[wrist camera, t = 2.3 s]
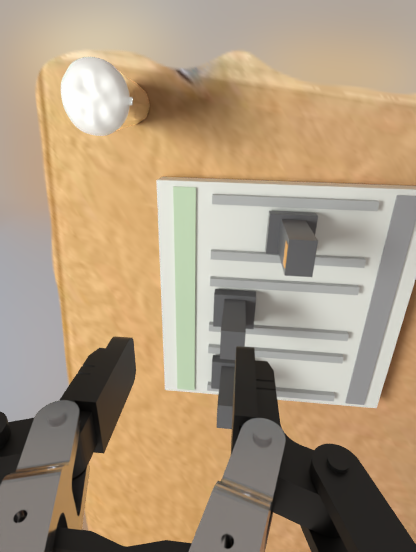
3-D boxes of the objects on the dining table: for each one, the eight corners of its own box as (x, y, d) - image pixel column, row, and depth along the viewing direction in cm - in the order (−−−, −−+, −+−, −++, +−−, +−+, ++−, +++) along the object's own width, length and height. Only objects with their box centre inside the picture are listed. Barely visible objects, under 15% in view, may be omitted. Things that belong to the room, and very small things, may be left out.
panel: (430, 186, 30) (500, 210, 22) (370, 395, 40) (402, 465, 32) (161, 176, 32) (133, 195, 24) (168, 378, 42) (150, 440, 34)
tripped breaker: (315, 212, 30) (333, 235, 23) (309, 251, 31) (325, 282, 25) (268, 210, 30) (275, 233, 24) (265, 249, 31) (270, 279, 25)
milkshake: (165, 136, 30) (132, 142, 21) (106, 129, 31) (49, 132, 21) (168, 77, 28) (132, 56, 19) (105, 70, 29) (41, 47, 20)
